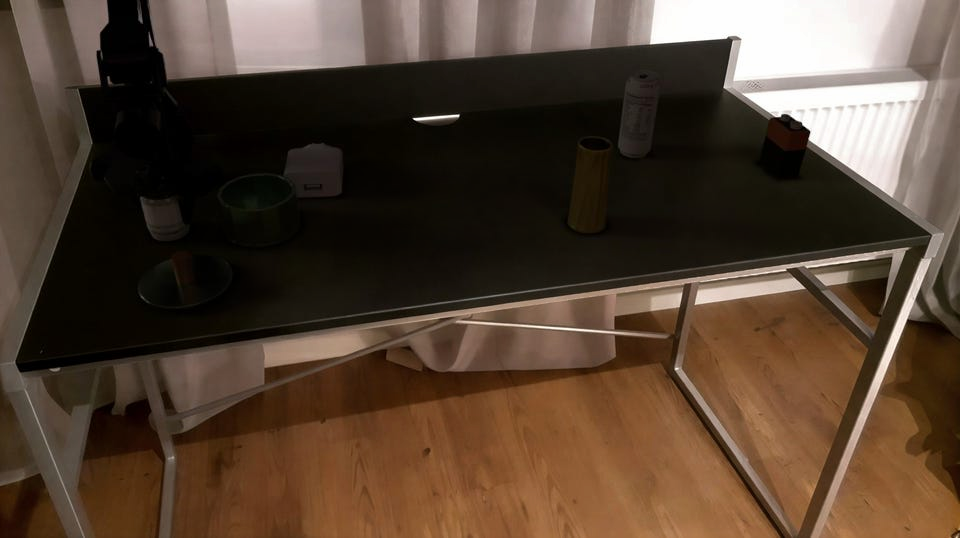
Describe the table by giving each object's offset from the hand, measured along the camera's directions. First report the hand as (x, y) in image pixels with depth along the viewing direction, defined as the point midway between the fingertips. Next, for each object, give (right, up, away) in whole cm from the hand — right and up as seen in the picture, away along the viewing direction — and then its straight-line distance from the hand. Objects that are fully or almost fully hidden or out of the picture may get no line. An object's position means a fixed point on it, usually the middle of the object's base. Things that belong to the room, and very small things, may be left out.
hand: (168, 220), depth 122 cm
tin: (+14, -1, +3) cm, 14 cm away
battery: (+102, +10, +22) cm, 105 cm away
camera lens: (0, -2, +1) cm, 2 cm away
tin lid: (+7, -9, -11) cm, 16 cm away
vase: (+65, 0, +5) cm, 65 cm away
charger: (+19, +9, +17) cm, 27 cm away
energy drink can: (+77, +14, +27) cm, 83 cm away
